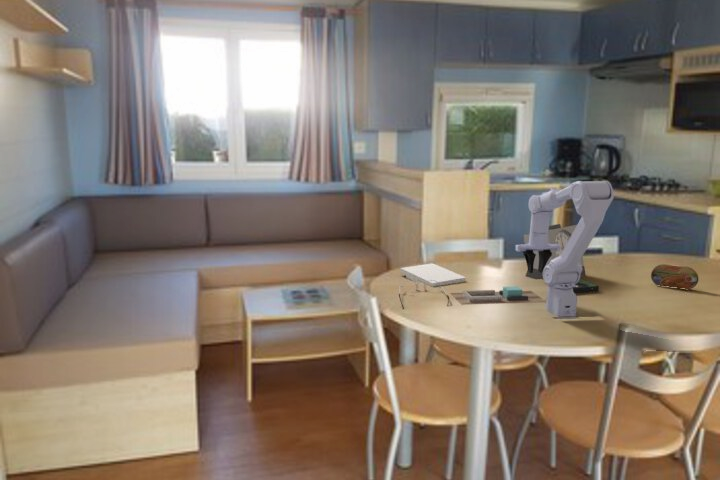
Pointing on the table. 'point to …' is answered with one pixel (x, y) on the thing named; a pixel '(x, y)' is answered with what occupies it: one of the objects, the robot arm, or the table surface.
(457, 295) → the base board
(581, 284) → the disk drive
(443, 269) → the white flat block
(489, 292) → the grey slab
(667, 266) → the tin
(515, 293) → the plug
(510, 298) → the grey blocks
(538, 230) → the robot arm
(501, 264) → the table surface
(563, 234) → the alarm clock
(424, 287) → the eyeglasses
